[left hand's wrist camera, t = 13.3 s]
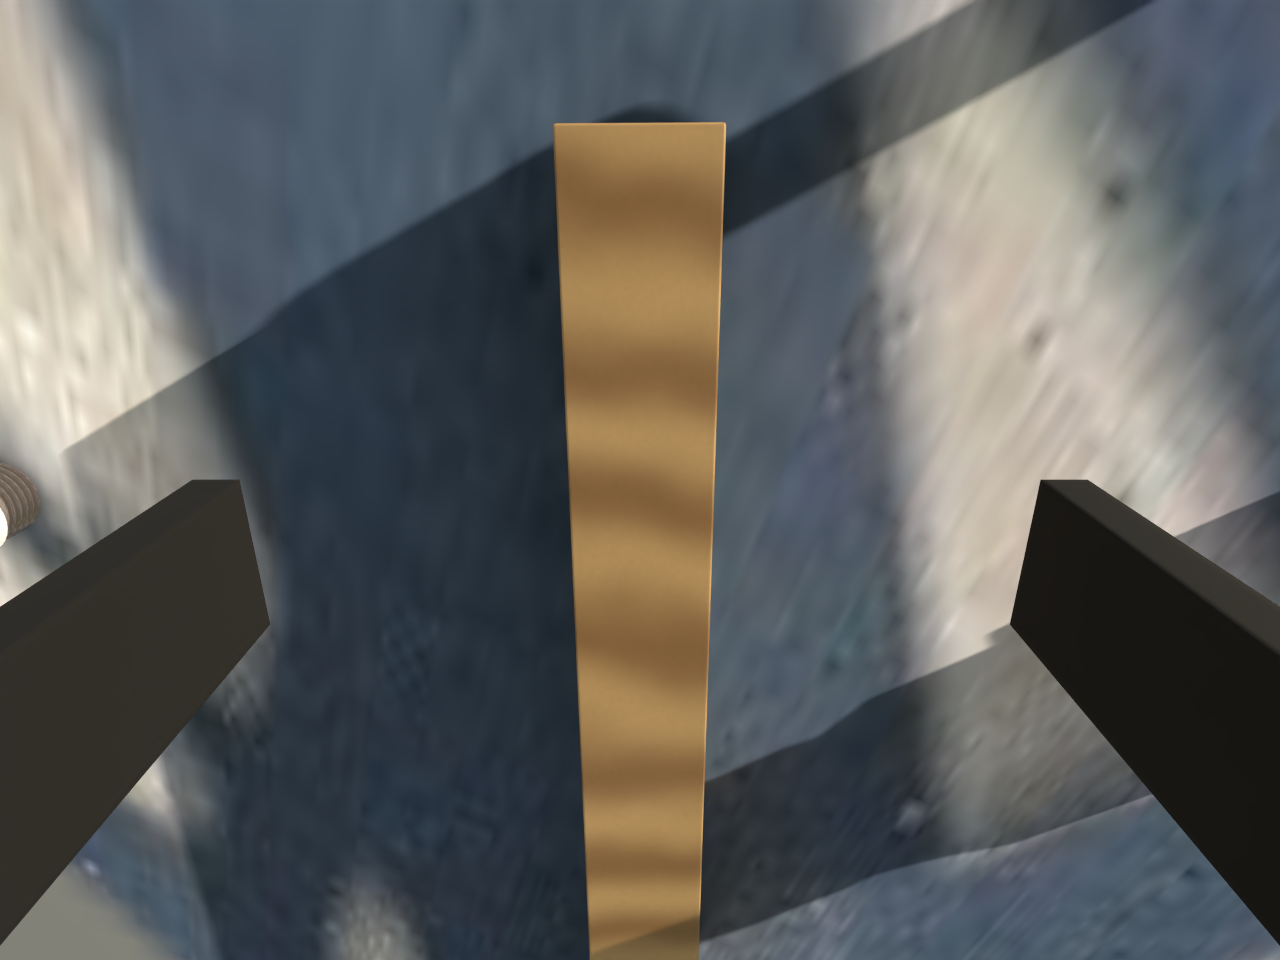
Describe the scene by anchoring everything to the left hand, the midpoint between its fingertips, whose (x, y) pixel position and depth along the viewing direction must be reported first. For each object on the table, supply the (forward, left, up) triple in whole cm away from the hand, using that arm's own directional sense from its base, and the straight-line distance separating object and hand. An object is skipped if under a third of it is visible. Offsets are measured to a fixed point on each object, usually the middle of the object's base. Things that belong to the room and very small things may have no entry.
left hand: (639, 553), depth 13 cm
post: (+23, +5, -23) cm, 33 cm away
